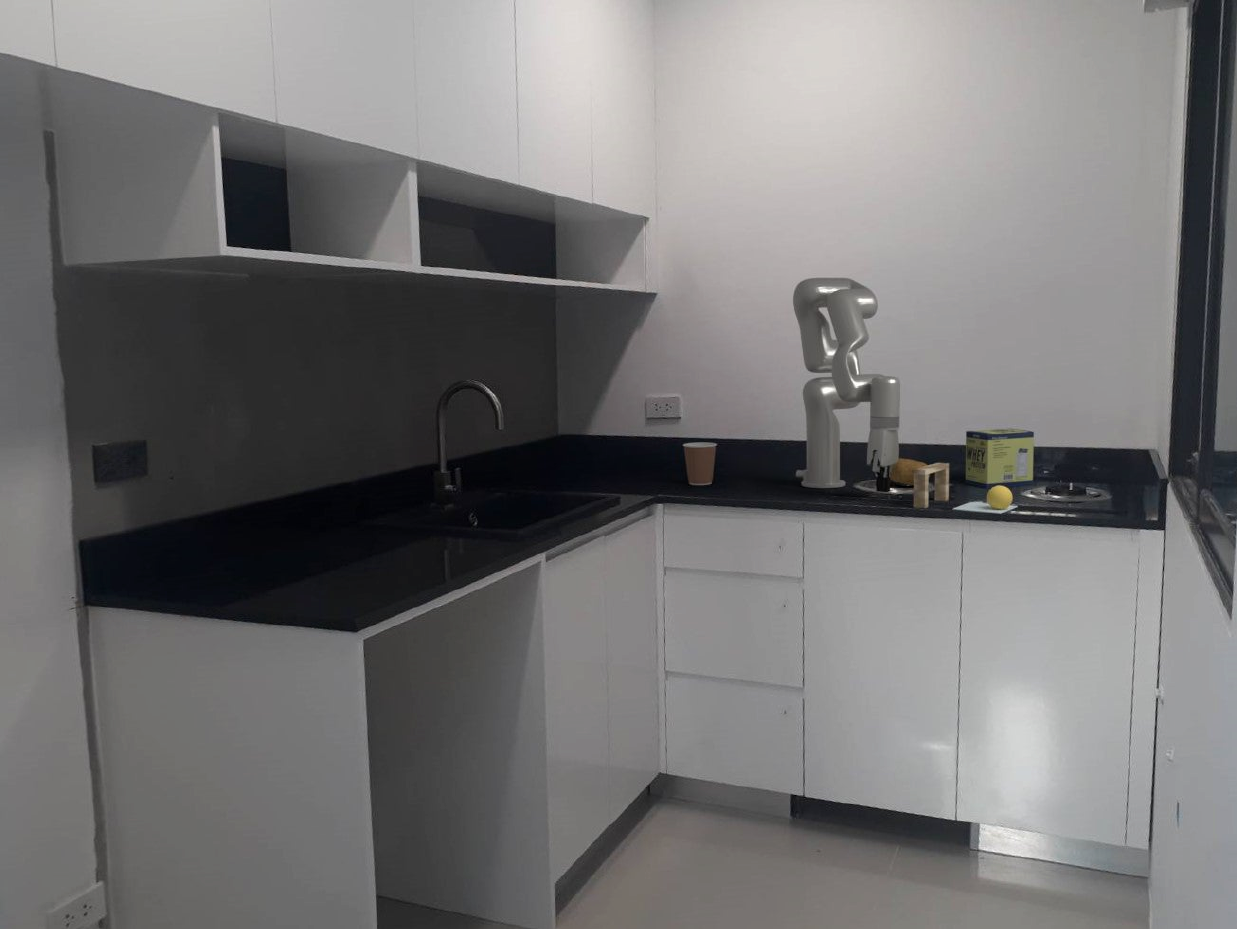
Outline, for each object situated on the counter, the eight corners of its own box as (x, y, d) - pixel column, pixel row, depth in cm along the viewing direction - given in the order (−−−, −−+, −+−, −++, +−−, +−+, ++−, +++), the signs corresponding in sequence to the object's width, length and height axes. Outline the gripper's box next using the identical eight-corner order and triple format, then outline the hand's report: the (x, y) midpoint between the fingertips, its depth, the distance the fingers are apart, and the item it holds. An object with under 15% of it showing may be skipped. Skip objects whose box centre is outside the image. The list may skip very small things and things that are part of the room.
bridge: (913, 507, 265) (914, 469, 264) (937, 499, 277) (938, 462, 275) (924, 508, 263) (925, 470, 262) (948, 499, 275) (949, 463, 273)
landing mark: (952, 509, 260) (952, 508, 260) (970, 502, 269) (970, 502, 269) (1000, 513, 253) (1000, 513, 253) (1017, 506, 262) (1017, 505, 262)
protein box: (964, 484, 301) (965, 430, 299) (1010, 480, 306) (1011, 428, 304) (986, 489, 291) (987, 433, 289) (1034, 485, 296) (1035, 430, 294)
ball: (1006, 512, 254) (982, 509, 258) (1015, 509, 259) (991, 506, 263) (1007, 488, 253) (983, 485, 257) (1016, 485, 258) (992, 483, 262)
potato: (914, 491, 290) (915, 462, 289) (878, 485, 303) (878, 458, 302) (939, 488, 295) (940, 460, 294) (903, 482, 307) (903, 455, 306)
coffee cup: (723, 482, 318) (722, 443, 316) (707, 486, 309) (707, 446, 308) (693, 480, 323) (692, 441, 322) (677, 484, 315) (676, 445, 313)
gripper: (883, 419, 284) (882, 486, 287) (858, 425, 273) (857, 494, 275) (910, 421, 279) (908, 488, 282) (885, 426, 268) (883, 497, 270)
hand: (883, 491), depth 278 cm, fingers closed
